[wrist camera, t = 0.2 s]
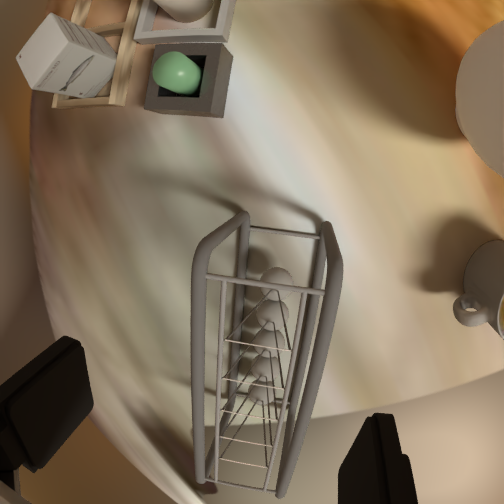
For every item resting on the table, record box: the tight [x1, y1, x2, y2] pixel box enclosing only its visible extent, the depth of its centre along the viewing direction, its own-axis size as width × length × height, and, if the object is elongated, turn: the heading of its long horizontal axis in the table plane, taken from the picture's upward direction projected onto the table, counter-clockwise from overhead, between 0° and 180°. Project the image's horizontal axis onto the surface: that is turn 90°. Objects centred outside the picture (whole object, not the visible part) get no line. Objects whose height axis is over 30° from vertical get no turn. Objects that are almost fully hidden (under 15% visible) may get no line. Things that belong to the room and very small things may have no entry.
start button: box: [153, 51, 204, 97], centre depth 31 cm, size 4×4×6 cm
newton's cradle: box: [191, 211, 343, 499], centre depth 34 cm, size 30×10×18 cm, turn 175°
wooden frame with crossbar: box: [52, 0, 143, 109], centre depth 34 cm, size 23×12×2 cm, turn 172°
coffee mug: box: [453, 240, 504, 339], centre depth 30 cm, size 13×10×10 cm
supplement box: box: [16, 13, 117, 98], centre depth 31 cm, size 7×7×13 cm
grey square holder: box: [144, 43, 233, 118], centre depth 33 cm, size 8×8×5 cm
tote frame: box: [134, 0, 236, 45], centre depth 31 cm, size 12×12×2 cm
